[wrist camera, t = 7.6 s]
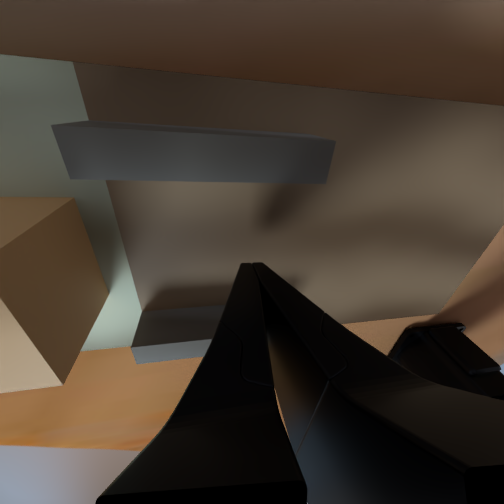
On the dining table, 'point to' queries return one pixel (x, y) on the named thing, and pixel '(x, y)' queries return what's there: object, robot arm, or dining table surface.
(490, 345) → the dining table surface
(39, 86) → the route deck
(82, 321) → the block
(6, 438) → the dining table surface
